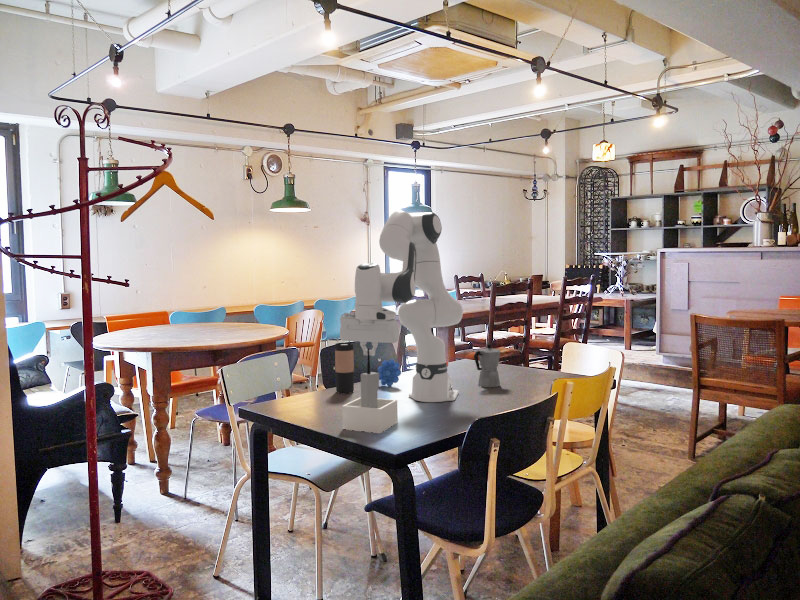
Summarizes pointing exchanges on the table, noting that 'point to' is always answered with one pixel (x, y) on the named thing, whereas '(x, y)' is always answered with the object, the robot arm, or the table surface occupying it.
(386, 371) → the grapes
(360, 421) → the bin
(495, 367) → the coffeepot
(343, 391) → the travel mug
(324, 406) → the table surface
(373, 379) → the vintage mobile phone
